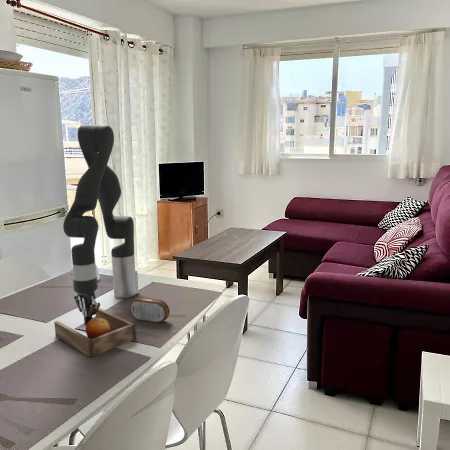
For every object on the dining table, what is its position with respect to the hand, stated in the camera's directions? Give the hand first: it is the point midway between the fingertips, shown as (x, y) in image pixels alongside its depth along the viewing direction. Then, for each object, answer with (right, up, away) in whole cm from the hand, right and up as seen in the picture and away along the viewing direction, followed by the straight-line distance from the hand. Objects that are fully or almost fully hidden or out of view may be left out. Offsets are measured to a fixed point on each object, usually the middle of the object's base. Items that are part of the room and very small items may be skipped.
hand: (88, 325), depth 144 cm
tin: (+18, -1, +11) cm, 21 cm away
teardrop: (-18, +8, +57) cm, 60 cm away
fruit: (+4, -4, -3) cm, 7 cm away
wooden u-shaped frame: (+3, -3, -2) cm, 5 cm away
